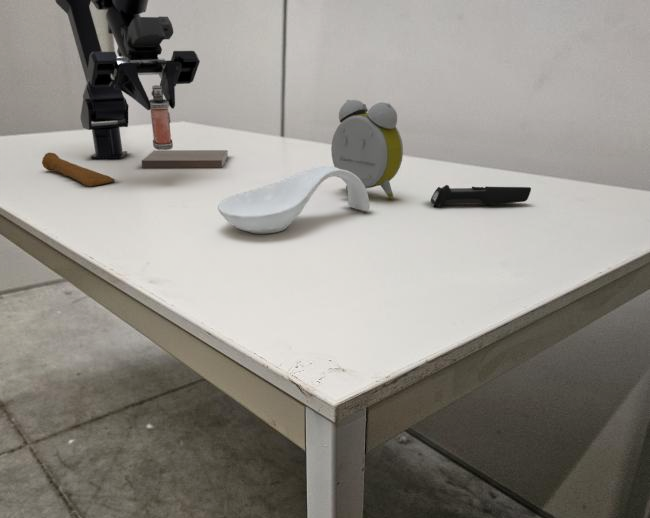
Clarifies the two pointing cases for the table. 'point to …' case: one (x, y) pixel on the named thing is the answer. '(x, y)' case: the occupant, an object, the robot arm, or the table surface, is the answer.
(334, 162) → the alarm clock
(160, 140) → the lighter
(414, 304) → the table surface
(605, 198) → the table surface
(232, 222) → the spoon rest
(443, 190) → the electric trimmer
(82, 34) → the robot arm
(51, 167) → the primitive tool
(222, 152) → the board
